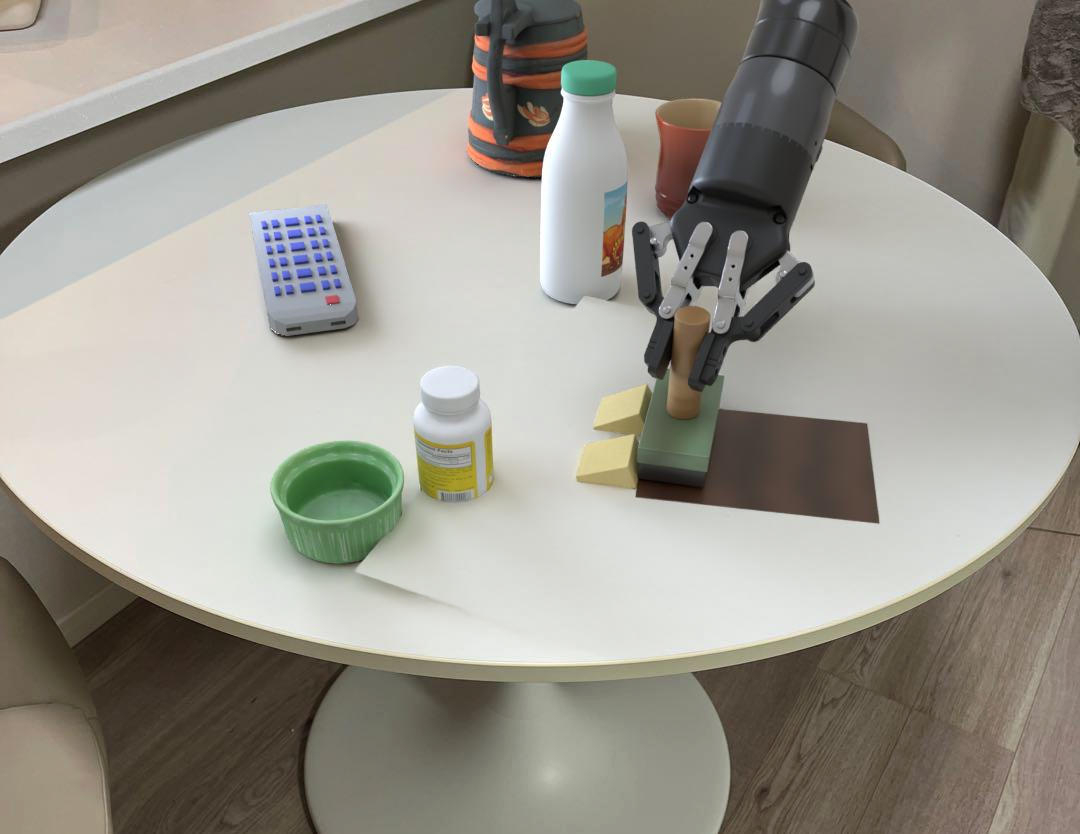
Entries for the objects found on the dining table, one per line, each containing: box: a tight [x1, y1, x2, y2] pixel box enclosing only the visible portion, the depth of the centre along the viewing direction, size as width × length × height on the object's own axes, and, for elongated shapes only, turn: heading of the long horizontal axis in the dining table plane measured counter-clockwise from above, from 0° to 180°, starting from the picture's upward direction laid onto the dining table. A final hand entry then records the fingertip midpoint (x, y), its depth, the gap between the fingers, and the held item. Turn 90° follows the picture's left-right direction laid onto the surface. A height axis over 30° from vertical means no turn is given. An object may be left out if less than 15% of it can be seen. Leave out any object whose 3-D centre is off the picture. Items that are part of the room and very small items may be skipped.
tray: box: [634, 408, 880, 525], centre depth 79 cm, size 17×12×2 cm
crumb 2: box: [575, 434, 639, 490], centre depth 77 cm, size 4×4×2 cm
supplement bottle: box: [412, 365, 495, 503], centre depth 74 cm, size 5×5×10 cm
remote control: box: [248, 203, 359, 337], centre depth 101 cm, size 8×23×2 cm, turn 16°
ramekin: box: [269, 439, 405, 564], centre depth 73 cm, size 9×9×4 cm
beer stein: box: [466, 0, 590, 178], centre depth 115 cm, size 19×15×20 cm
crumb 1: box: [592, 383, 653, 437], centre depth 82 cm, size 4×4×2 cm
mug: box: [654, 97, 722, 219], centre depth 110 cm, size 12×9×10 cm
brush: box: [637, 305, 725, 487], centre depth 75 cm, size 5×10×11 cm, turn 167°
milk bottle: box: [539, 59, 629, 305], centre depth 94 cm, size 8×8×20 cm
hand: (675, 381), depth 73 cm, fingers closed on brush, 2 cm apart
